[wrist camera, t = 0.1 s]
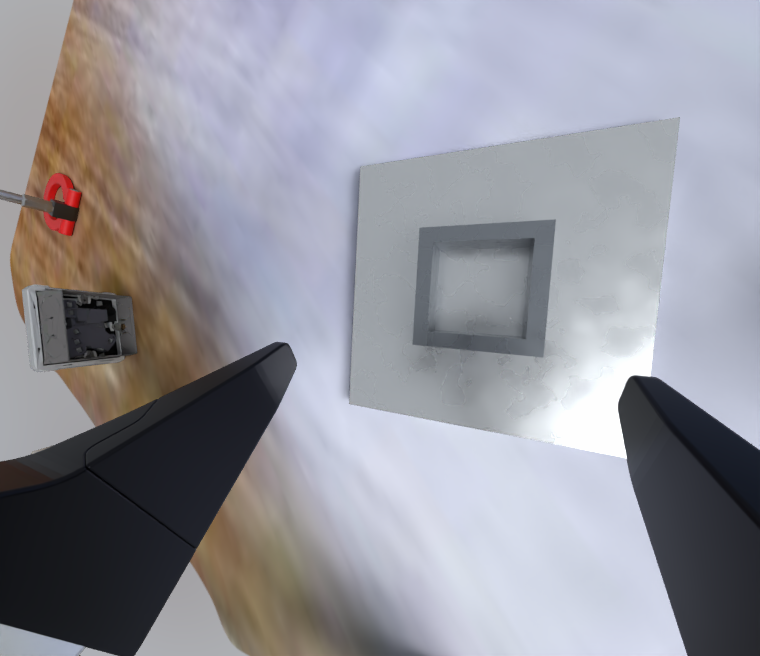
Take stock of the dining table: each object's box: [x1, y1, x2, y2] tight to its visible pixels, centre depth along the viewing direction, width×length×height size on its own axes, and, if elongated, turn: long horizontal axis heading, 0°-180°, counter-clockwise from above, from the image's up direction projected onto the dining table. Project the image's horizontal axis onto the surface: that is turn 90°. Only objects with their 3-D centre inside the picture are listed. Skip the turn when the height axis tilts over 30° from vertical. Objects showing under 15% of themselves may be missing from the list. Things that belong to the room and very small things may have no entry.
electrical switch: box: [22, 285, 137, 372], centre depth 34 cm, size 9×5×9 cm, turn 7°
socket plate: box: [349, 117, 680, 458], centre depth 20 cm, size 20×20×4 cm
